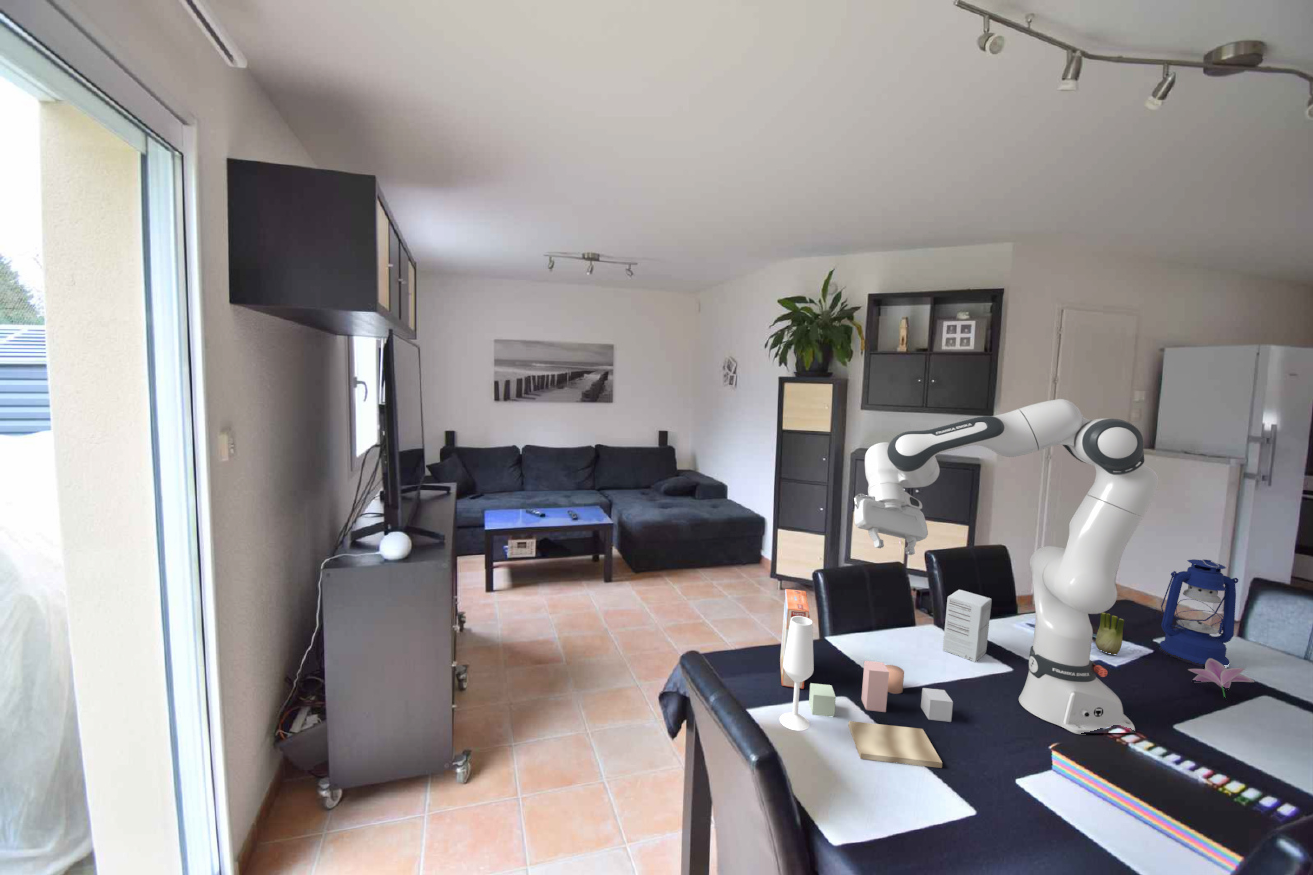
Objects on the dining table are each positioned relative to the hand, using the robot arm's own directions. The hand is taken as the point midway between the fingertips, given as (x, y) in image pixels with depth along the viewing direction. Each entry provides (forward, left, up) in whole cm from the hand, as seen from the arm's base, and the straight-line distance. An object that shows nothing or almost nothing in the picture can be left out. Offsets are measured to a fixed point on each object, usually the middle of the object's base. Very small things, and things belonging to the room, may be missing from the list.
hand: (895, 550), depth 137 cm
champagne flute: (+25, +19, -36) cm, 48 cm away
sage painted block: (+18, +13, -36) cm, 42 cm away
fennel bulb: (-74, -33, -36) cm, 89 cm away
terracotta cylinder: (-2, 0, -36) cm, 36 cm away
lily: (-89, -14, -36) cm, 97 cm away
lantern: (-100, -36, -36) cm, 113 cm away
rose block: (+5, +9, -36) cm, 38 cm away
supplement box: (-30, -25, -36) cm, 54 cm away
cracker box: (+23, -2, -36) cm, 43 cm away
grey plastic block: (-9, +10, -36) cm, 39 cm away
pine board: (+5, +24, -36) cm, 43 cm away
